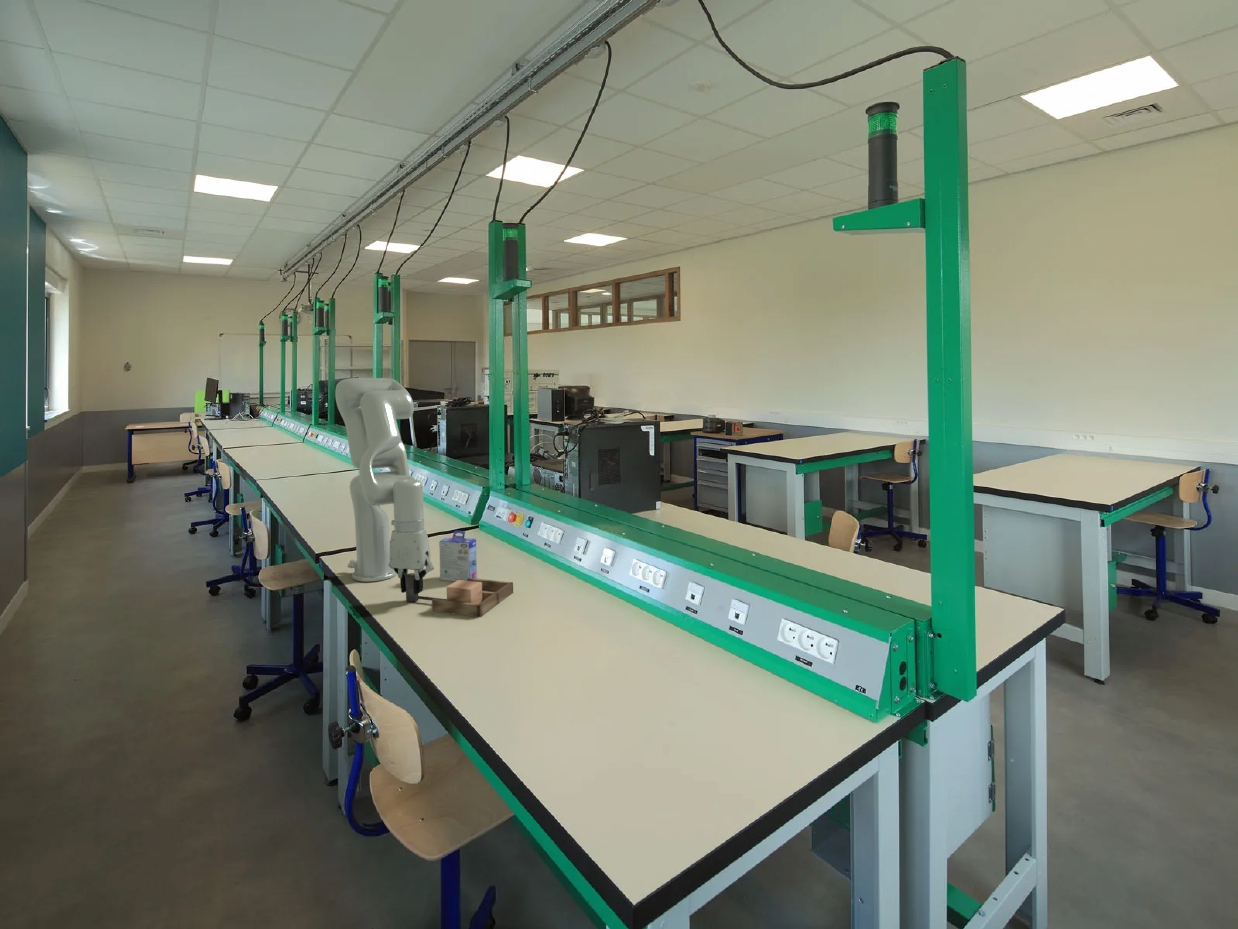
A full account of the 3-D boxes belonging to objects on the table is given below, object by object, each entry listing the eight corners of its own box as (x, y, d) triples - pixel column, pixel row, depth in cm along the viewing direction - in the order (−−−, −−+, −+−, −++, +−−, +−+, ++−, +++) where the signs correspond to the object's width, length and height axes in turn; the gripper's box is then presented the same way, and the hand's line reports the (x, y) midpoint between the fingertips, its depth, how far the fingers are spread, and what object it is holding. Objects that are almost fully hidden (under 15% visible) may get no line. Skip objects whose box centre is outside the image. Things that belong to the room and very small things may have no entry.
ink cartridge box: (478, 577, 190) (476, 530, 188) (470, 583, 185) (469, 535, 183) (448, 575, 192) (446, 529, 190) (439, 580, 186) (437, 533, 184)
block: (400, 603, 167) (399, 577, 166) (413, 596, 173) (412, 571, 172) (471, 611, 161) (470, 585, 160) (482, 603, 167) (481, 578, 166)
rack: (432, 611, 162) (431, 600, 162) (468, 587, 180) (468, 577, 180) (480, 617, 158) (480, 605, 158) (513, 592, 176) (513, 582, 176)
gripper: (374, 526, 165) (377, 593, 168) (428, 531, 161) (431, 599, 163) (391, 520, 172) (394, 584, 175) (444, 524, 168) (446, 590, 170)
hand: (412, 591), depth 169 cm, fingers closed on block, 3 cm apart
